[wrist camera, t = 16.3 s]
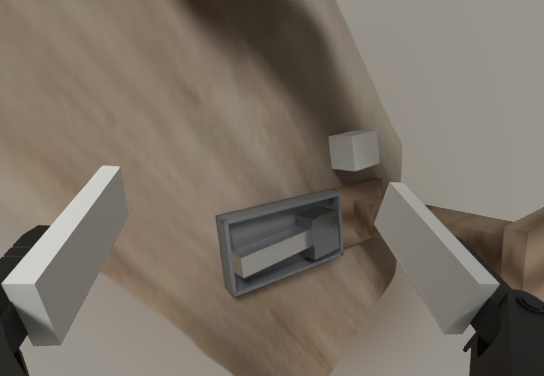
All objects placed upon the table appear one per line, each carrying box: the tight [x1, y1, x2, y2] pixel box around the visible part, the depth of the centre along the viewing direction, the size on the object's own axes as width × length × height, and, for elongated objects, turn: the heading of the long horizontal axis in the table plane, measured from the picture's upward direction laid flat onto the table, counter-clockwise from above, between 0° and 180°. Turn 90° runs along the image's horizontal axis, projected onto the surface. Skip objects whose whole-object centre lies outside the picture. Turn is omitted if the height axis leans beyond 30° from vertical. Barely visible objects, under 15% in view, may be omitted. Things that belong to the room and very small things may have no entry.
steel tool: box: [230, 206, 339, 278], centre depth 47 cm, size 7×19×4 cm, turn 97°
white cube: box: [328, 130, 380, 171], centre depth 53 cm, size 6×6×6 cm
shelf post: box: [332, 178, 544, 302], centre depth 46 cm, size 12×13×30 cm
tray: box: [216, 189, 343, 297], centre depth 49 cm, size 12×22×4 cm, turn 95°
